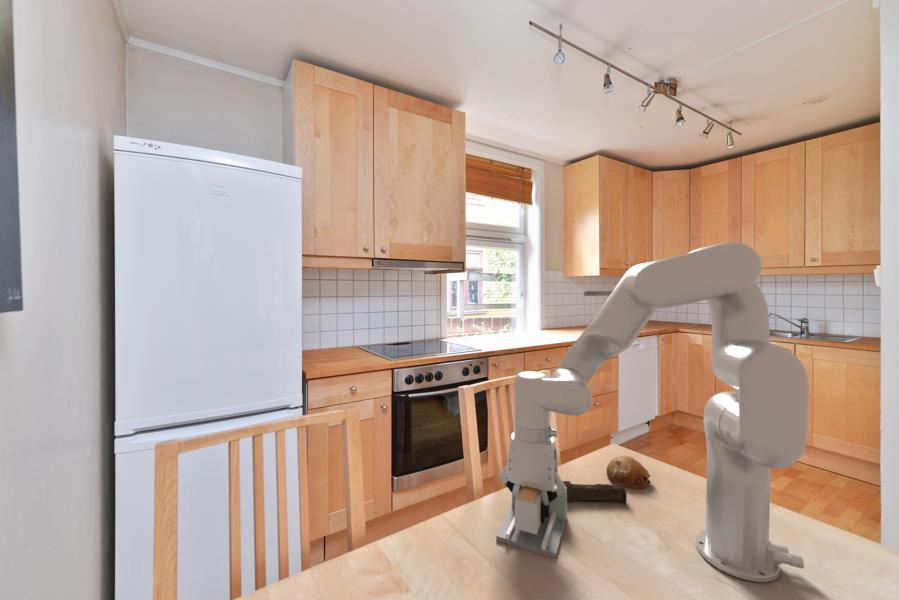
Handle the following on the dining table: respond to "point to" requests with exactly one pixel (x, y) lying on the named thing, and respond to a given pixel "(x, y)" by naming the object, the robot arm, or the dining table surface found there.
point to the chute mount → (547, 533)
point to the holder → (528, 509)
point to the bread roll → (628, 472)
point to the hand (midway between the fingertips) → (531, 515)
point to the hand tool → (595, 492)
